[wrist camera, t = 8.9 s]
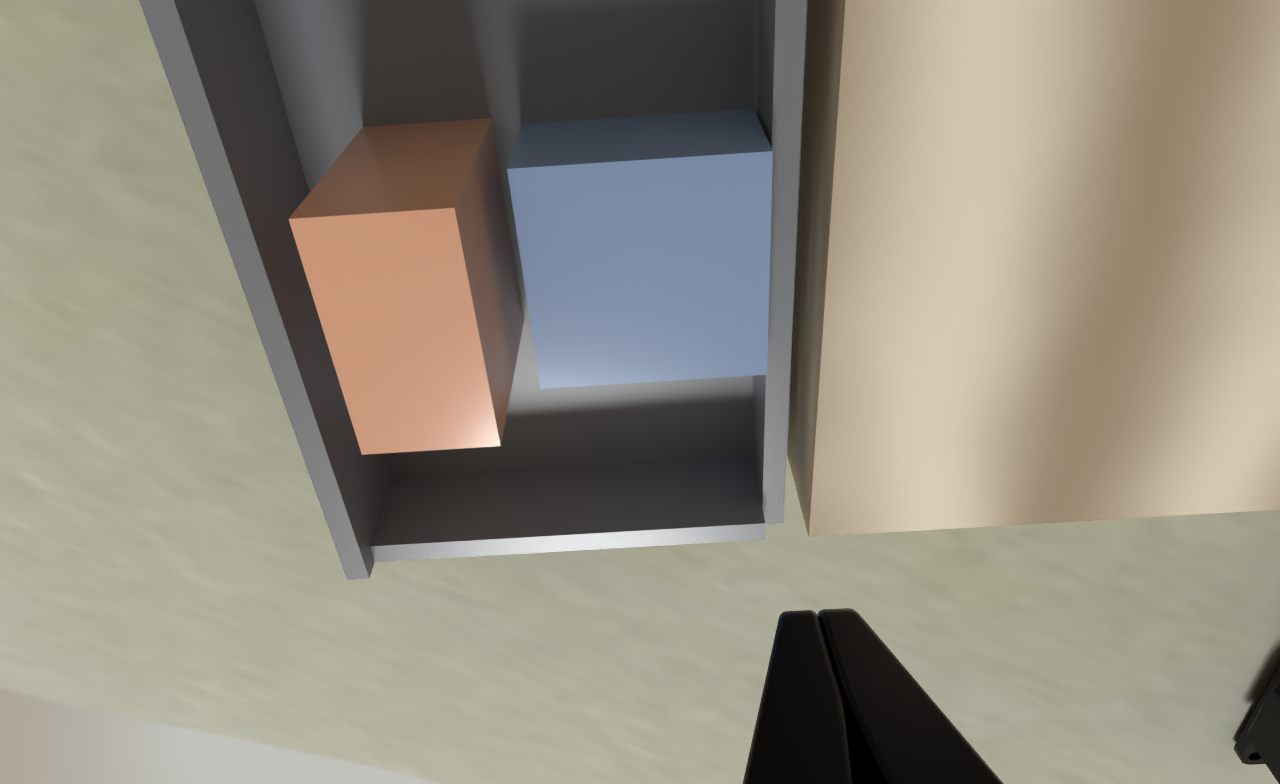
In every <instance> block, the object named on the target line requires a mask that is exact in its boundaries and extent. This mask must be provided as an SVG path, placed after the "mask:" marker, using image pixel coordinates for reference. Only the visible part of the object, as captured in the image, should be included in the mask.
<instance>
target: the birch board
mask: <svg viewBox="0 0 1280 784" xmlns="http://www.w3.org/2000/svg"><path fill="white" fill-rule="evenodd" d="M788 459H789V463H790V467H791V471H792V474H793V478H794V482H795V486H796V490H797V494H798V497H799V501H800V505H801V509H802V513H803V517H804V520H805V524H806V528H807V532H808V536H809V537H816V536H833V535H850V534H868V533H885V532H902V531H919V530H936V529H953V528H971V527H988V526H1005V525H1022V524H1039V523H1056V522H1074V521H1091V520H1108V519H1125V518H1142V517H1160V516H1177V515H1194V514H1211V513H1228V512H1245V511H1263V510H1280V0H808V20H807V42H806V64H805V86H804V107H803V129H802V151H801V173H800V194H799V216H798V238H797V260H796V281H795V303H794V325H793V347H792V368H791V390H790V412H789V434H788Z"/></svg>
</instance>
